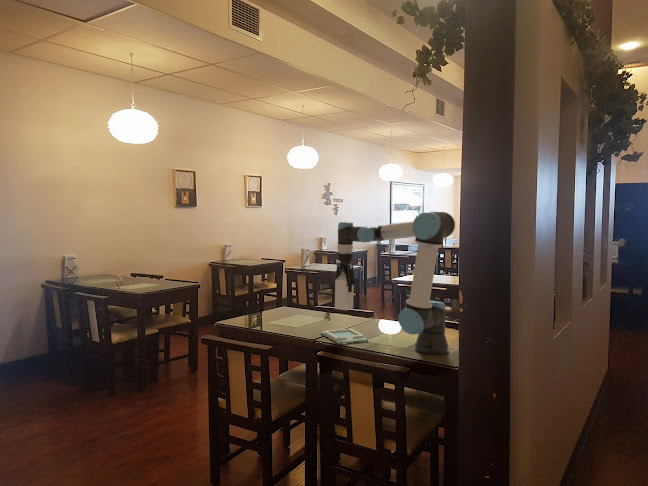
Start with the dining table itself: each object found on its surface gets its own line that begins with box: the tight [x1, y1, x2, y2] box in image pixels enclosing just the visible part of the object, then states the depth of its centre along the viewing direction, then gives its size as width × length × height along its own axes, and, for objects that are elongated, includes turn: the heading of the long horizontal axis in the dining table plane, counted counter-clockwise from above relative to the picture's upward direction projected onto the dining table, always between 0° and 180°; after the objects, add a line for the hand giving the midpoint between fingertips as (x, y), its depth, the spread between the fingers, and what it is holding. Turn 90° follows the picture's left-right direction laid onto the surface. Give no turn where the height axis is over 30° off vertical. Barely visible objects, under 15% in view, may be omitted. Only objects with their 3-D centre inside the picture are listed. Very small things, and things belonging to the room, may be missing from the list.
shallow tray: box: [320, 328, 369, 345], centre depth 237 cm, size 22×16×2 cm
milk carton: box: [334, 272, 355, 311], centre depth 235 cm, size 7×7×19 cm
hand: (344, 296), depth 235 cm, fingers closed on milk carton, 10 cm apart
